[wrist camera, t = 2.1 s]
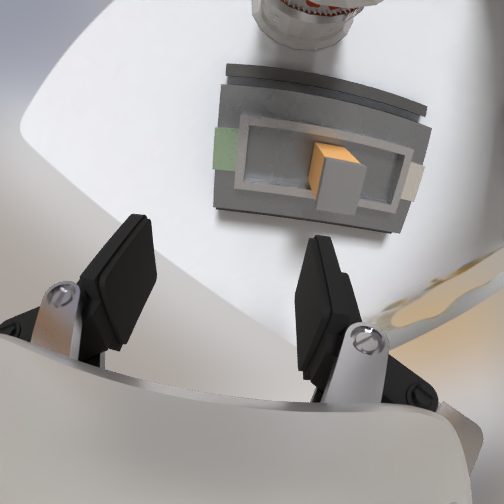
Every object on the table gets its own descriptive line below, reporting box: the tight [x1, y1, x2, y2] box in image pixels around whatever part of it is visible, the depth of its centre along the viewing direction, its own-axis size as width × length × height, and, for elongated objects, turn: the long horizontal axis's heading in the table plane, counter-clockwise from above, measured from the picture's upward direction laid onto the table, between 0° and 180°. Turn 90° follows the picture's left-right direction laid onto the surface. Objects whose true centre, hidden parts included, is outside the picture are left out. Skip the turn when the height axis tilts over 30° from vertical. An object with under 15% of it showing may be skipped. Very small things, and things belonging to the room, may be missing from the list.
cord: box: [226, 64, 427, 117], centre depth 22 cm, size 1×20×1 cm, turn 84°
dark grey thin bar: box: [216, 207, 392, 234], centre depth 30 cm, size 1×20×1 cm, turn 84°
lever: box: [308, 142, 367, 216], centre depth 21 cm, size 4×3×6 cm
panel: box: [213, 84, 432, 233], centre depth 25 cm, size 12×20×4 cm, turn 84°
